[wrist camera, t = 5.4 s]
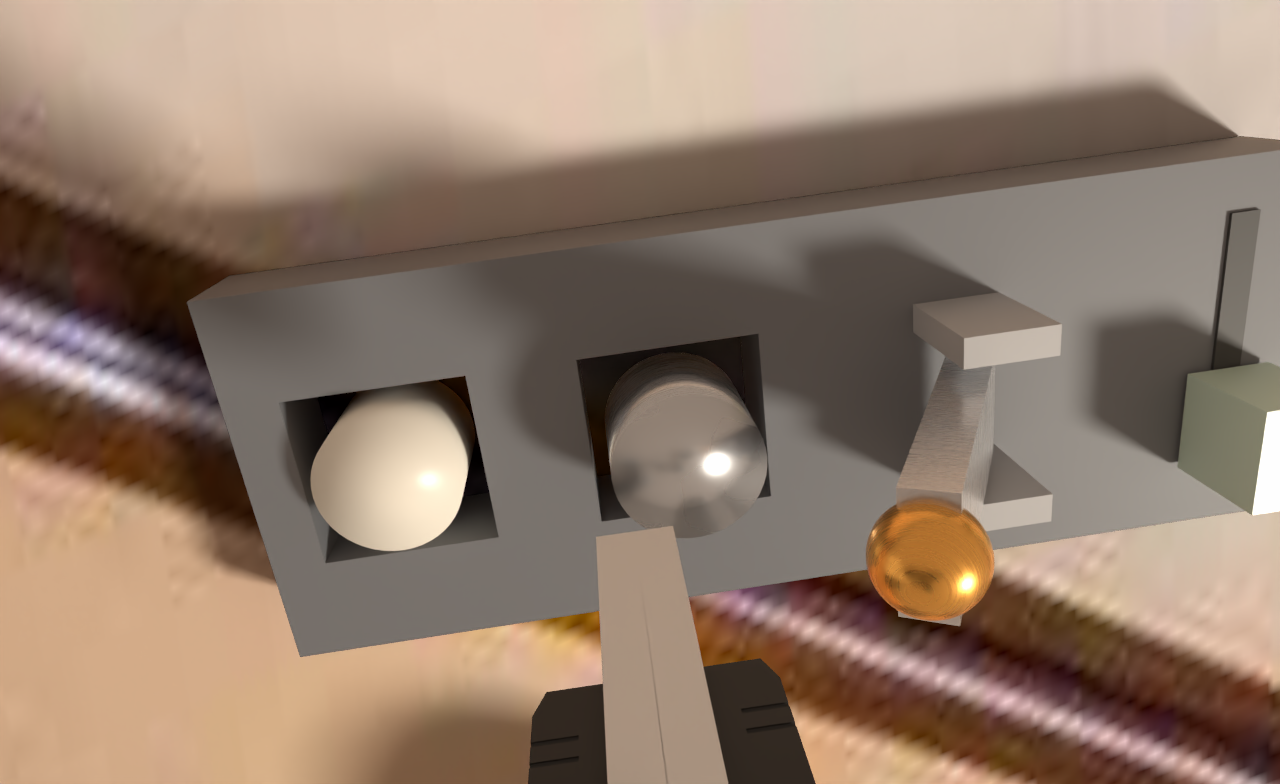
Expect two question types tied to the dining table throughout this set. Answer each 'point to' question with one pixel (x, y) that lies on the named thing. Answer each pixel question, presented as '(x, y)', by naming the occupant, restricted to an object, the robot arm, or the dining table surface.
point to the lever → (940, 506)
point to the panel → (763, 372)
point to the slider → (1234, 434)
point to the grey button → (682, 446)
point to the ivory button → (395, 465)
